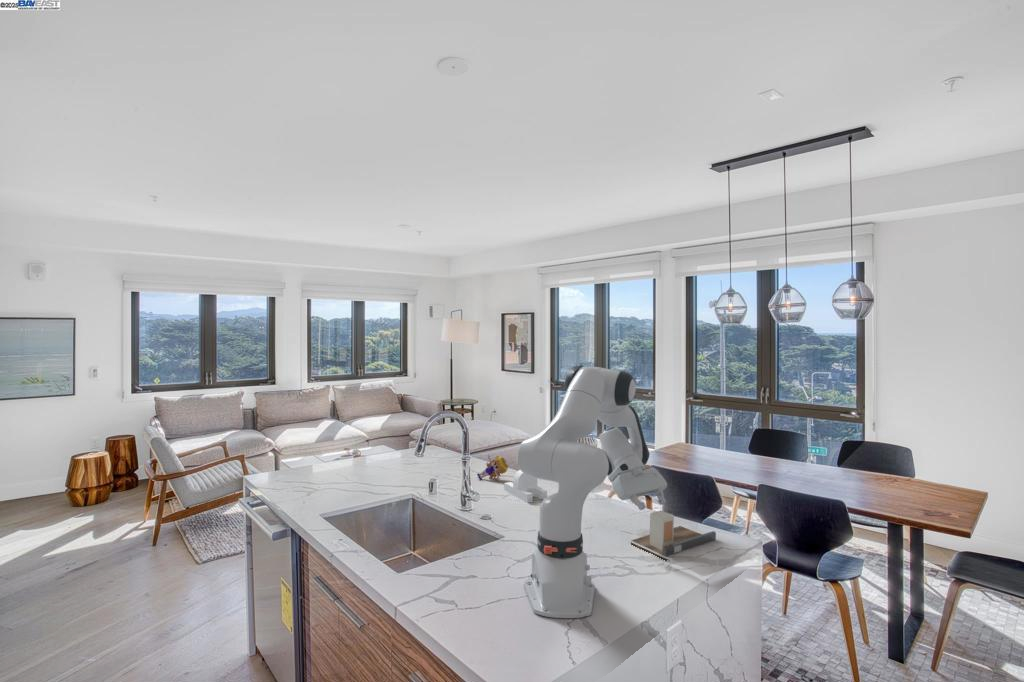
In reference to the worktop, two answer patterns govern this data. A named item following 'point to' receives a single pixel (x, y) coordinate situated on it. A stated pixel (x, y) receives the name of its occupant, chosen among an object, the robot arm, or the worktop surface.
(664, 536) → the carton
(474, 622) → the worktop surface
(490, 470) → the toy
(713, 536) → the price rail
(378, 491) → the worktop surface
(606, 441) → the robot arm
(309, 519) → the worktop surface
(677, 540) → the spiral bound notebook
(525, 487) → the tape dispenser
